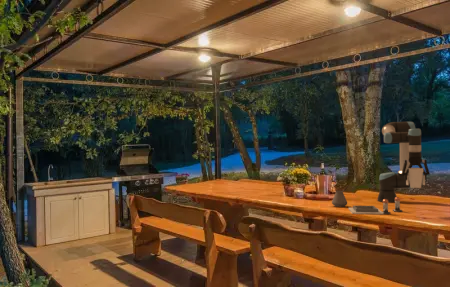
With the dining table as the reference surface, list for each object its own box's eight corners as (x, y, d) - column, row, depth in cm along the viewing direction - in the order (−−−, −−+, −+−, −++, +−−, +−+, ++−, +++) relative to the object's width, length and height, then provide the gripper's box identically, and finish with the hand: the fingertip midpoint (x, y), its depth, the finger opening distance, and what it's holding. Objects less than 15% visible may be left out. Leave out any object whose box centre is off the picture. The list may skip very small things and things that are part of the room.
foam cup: (406, 187, 250) (406, 168, 250) (408, 186, 258) (408, 167, 258) (422, 188, 245) (422, 168, 245) (424, 187, 253) (424, 167, 253)
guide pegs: (379, 213, 255) (378, 198, 255) (395, 210, 266) (395, 196, 266) (387, 214, 250) (386, 199, 250) (404, 211, 261) (403, 197, 261)
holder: (348, 208, 275) (348, 204, 275) (377, 209, 271) (377, 205, 271) (352, 214, 255) (352, 209, 255) (383, 214, 251) (383, 210, 251)
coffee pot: (342, 208, 279) (342, 187, 279) (328, 206, 287) (328, 186, 287) (356, 204, 294) (356, 185, 294) (342, 203, 302) (342, 184, 302)
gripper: (399, 152, 250) (399, 185, 250) (434, 151, 246) (435, 185, 246) (395, 151, 257) (396, 184, 257) (430, 151, 253) (431, 184, 253)
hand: (415, 185), depth 252 cm, fingers closed on foam cup, 9 cm apart
